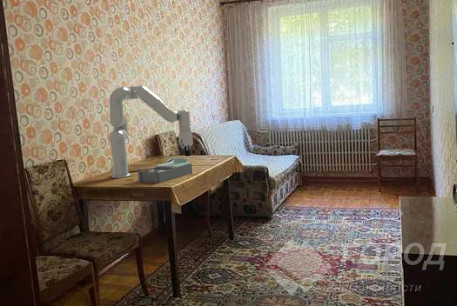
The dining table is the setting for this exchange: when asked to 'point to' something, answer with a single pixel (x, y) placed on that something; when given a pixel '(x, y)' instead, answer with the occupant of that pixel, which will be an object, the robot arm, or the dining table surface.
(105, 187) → the dining table surface
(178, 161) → the lid
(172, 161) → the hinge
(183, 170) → the housing
